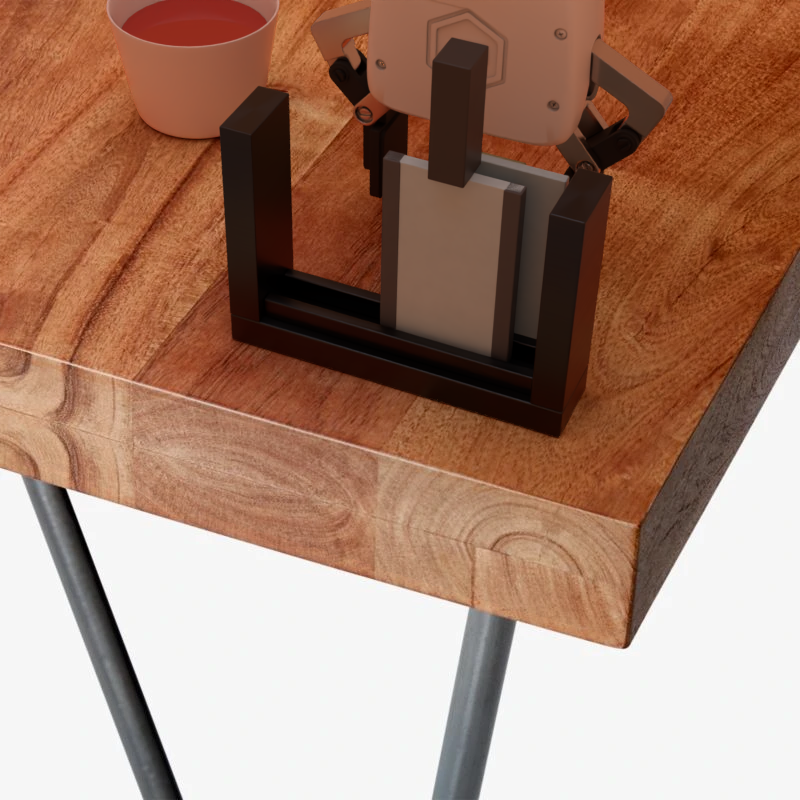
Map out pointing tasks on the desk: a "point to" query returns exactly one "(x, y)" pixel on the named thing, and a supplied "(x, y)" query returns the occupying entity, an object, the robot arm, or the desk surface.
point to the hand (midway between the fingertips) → (478, 206)
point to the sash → (452, 222)
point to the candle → (193, 58)
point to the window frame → (360, 309)
